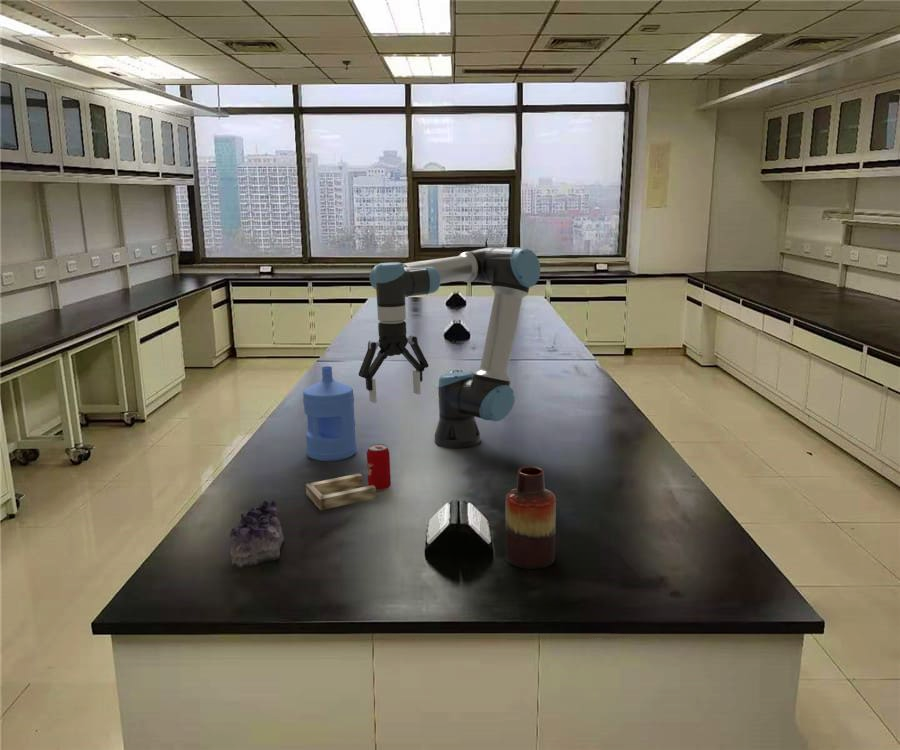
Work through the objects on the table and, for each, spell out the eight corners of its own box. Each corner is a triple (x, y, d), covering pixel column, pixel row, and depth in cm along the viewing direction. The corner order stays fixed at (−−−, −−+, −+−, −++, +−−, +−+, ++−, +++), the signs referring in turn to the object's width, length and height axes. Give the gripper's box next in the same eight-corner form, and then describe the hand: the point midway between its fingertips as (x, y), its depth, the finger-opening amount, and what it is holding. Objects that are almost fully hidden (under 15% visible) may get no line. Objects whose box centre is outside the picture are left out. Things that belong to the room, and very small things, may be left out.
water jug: (328, 442, 234) (324, 360, 228) (366, 450, 226) (362, 365, 220) (296, 457, 221) (290, 370, 215) (335, 465, 213) (329, 375, 207)
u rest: (359, 483, 199) (359, 473, 199) (376, 497, 189) (375, 487, 188) (306, 494, 192) (305, 484, 191) (320, 510, 182) (319, 499, 181)
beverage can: (379, 481, 200) (377, 441, 197) (395, 487, 196) (393, 446, 193) (363, 488, 195) (361, 447, 192) (379, 494, 191) (377, 452, 189)
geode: (238, 531, 171) (241, 492, 169) (287, 534, 173) (290, 495, 171) (222, 570, 151) (225, 526, 149) (277, 572, 153) (281, 529, 151)
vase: (564, 556, 156) (566, 469, 151) (536, 575, 148) (537, 484, 143) (524, 541, 163) (525, 458, 158) (495, 559, 155) (495, 472, 150)
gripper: (425, 314, 199) (427, 387, 204) (343, 324, 186) (348, 401, 191) (439, 317, 192) (441, 393, 197) (355, 328, 180) (359, 408, 185)
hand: (395, 397), depth 194 cm, fingers open, 13 cm apart
